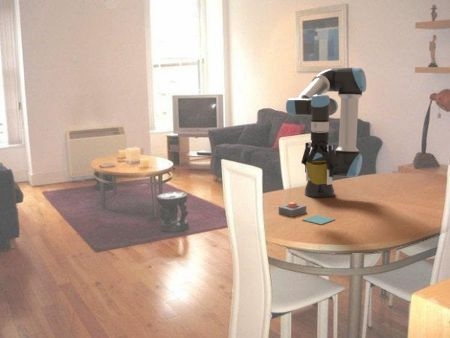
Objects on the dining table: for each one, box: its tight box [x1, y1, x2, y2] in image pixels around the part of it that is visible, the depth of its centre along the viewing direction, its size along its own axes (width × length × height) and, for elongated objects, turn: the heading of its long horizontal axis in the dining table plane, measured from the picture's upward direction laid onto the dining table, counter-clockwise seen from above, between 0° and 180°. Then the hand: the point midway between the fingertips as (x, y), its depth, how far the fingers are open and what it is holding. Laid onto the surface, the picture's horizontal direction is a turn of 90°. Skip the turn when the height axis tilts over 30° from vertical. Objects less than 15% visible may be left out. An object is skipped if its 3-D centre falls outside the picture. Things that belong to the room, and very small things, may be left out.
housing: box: [278, 203, 307, 217], centre depth 244 cm, size 10×8×3 cm
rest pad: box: [302, 214, 336, 226], centre depth 232 cm, size 10×10×1 cm
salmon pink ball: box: [287, 202, 298, 208], centre depth 244 cm, size 4×4×4 cm
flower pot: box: [306, 161, 329, 185], centre depth 229 cm, size 9×9×9 cm
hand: (318, 182), depth 230 cm, fingers closed on flower pot, 11 cm apart
